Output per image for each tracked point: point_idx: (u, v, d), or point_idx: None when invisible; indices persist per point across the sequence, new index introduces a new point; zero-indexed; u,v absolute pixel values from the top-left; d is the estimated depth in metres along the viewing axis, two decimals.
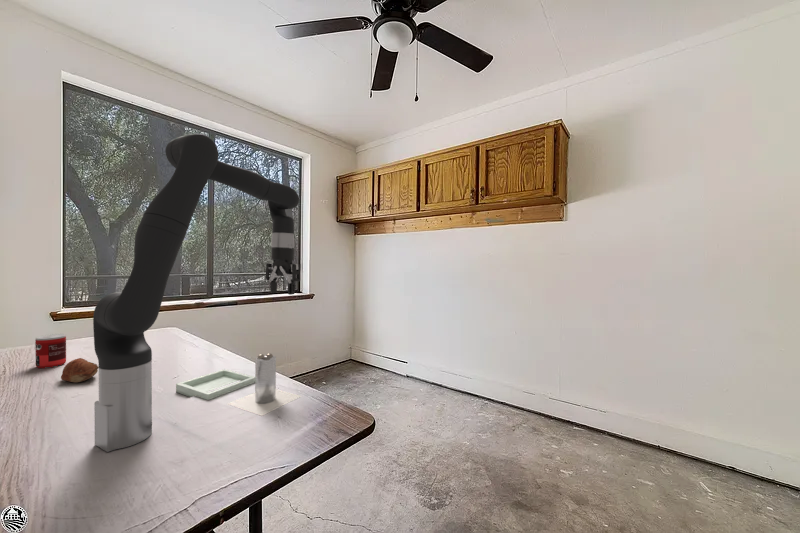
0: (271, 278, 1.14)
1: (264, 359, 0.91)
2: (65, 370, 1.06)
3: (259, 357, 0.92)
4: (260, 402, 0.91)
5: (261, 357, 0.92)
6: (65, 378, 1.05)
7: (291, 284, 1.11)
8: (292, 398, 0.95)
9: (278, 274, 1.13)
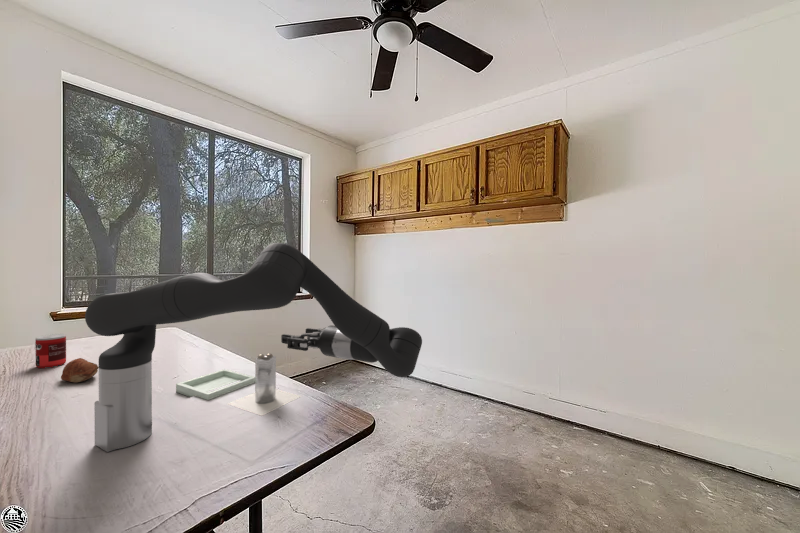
0: None
1: (264, 359, 0.91)
2: (65, 370, 1.06)
3: (259, 357, 0.92)
4: (260, 402, 0.91)
5: (261, 357, 0.92)
6: (65, 378, 1.05)
7: None
8: (292, 398, 0.95)
9: None
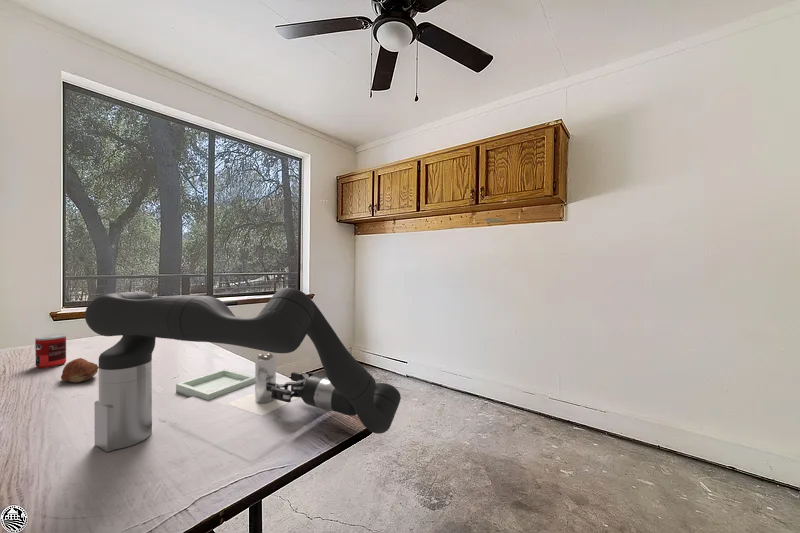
0: (304, 375, 0.92)
1: (264, 359, 0.91)
2: (65, 370, 1.06)
3: (259, 357, 0.92)
4: (260, 402, 0.91)
5: (261, 357, 0.92)
6: (65, 378, 1.05)
7: (274, 386, 0.85)
8: (292, 398, 0.95)
9: (299, 380, 0.88)
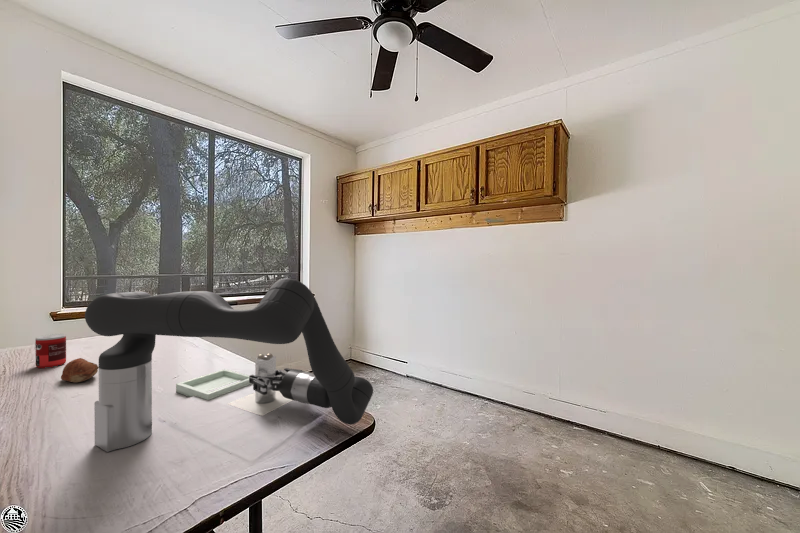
0: (280, 371, 0.95)
1: (264, 359, 0.91)
2: (65, 370, 1.06)
3: (259, 357, 0.92)
4: (260, 402, 0.91)
5: (261, 357, 0.92)
6: (65, 378, 1.05)
7: (256, 379, 0.90)
8: None
9: None
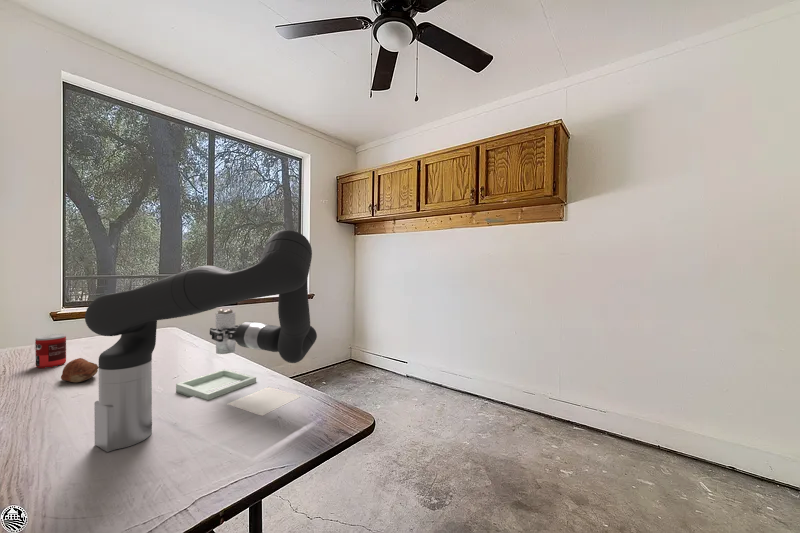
0: (239, 325, 1.03)
1: (223, 313, 1.00)
2: (65, 370, 1.06)
3: (219, 311, 1.01)
4: (220, 352, 0.99)
5: (221, 312, 1.01)
6: (65, 378, 1.05)
7: None
8: (292, 398, 0.95)
9: None
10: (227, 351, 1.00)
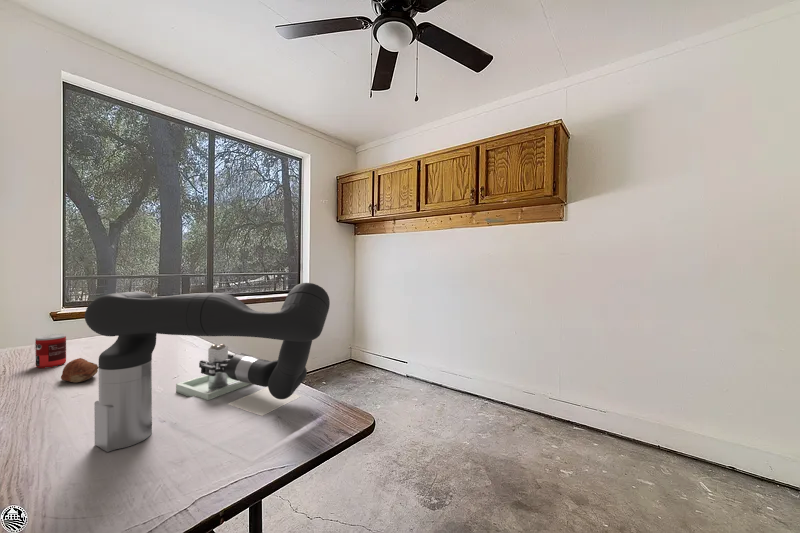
0: (235, 355, 1.06)
1: (216, 349, 1.01)
2: (65, 370, 1.06)
3: (212, 347, 1.02)
4: (212, 387, 1.01)
5: (214, 347, 1.03)
6: (65, 378, 1.05)
7: (205, 364, 0.99)
8: (292, 398, 0.95)
9: None
10: (219, 386, 1.02)
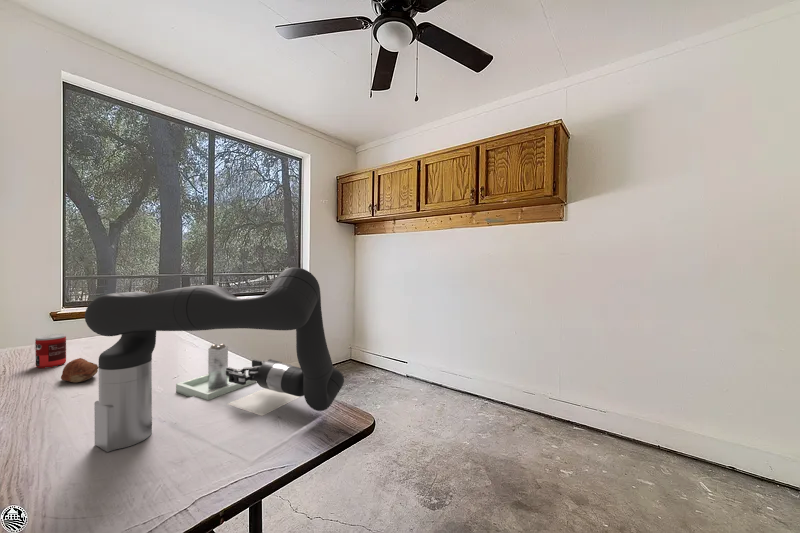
0: (263, 362, 1.00)
1: (216, 349, 1.02)
2: (65, 370, 1.06)
3: (212, 347, 1.03)
4: (212, 387, 1.01)
5: (214, 347, 1.03)
6: (65, 378, 1.05)
7: (232, 371, 0.92)
8: (292, 398, 0.95)
9: None
10: (219, 386, 1.02)
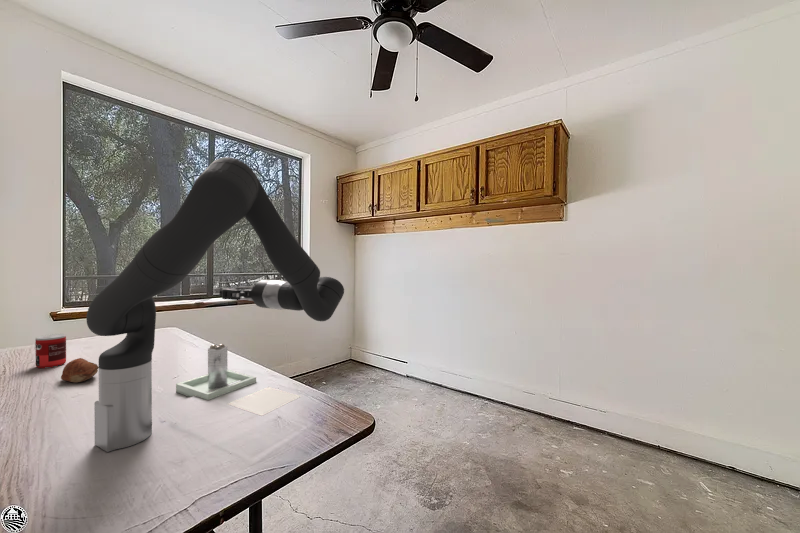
0: None
1: (215, 349, 1.02)
2: (65, 370, 1.06)
3: (211, 347, 1.03)
4: (212, 387, 1.01)
5: (213, 347, 1.03)
6: (65, 378, 1.05)
7: None
8: (292, 398, 0.95)
9: None
10: (219, 386, 1.02)
